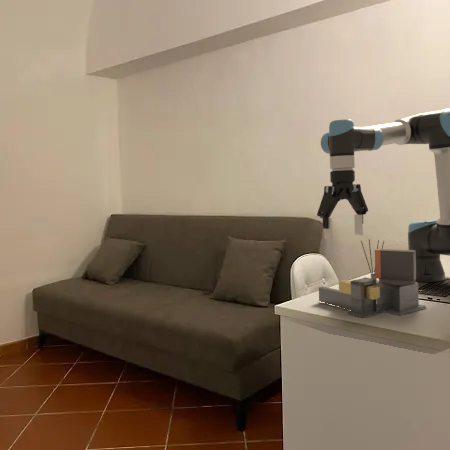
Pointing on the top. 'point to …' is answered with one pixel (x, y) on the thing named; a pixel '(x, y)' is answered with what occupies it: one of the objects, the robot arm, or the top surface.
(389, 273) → the grey block orange side
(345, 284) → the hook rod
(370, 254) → the reed diffuser
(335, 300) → the eye bracket
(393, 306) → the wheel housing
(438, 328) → the top surface
